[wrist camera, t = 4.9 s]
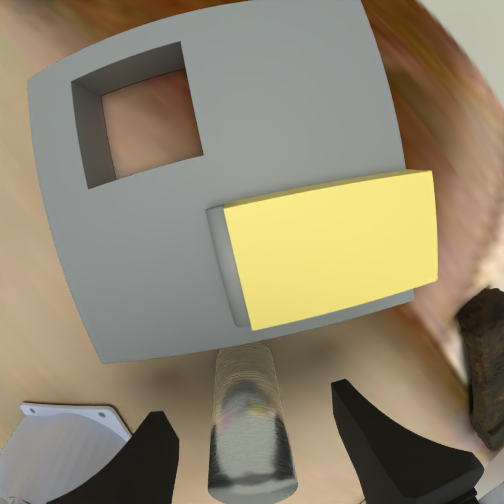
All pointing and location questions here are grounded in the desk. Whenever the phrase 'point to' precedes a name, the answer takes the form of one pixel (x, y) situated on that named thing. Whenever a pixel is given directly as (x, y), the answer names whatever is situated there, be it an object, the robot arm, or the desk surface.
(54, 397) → the desk surface
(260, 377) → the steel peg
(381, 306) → the plate
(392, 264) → the latch flap
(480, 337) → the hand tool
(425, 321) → the desk surface
